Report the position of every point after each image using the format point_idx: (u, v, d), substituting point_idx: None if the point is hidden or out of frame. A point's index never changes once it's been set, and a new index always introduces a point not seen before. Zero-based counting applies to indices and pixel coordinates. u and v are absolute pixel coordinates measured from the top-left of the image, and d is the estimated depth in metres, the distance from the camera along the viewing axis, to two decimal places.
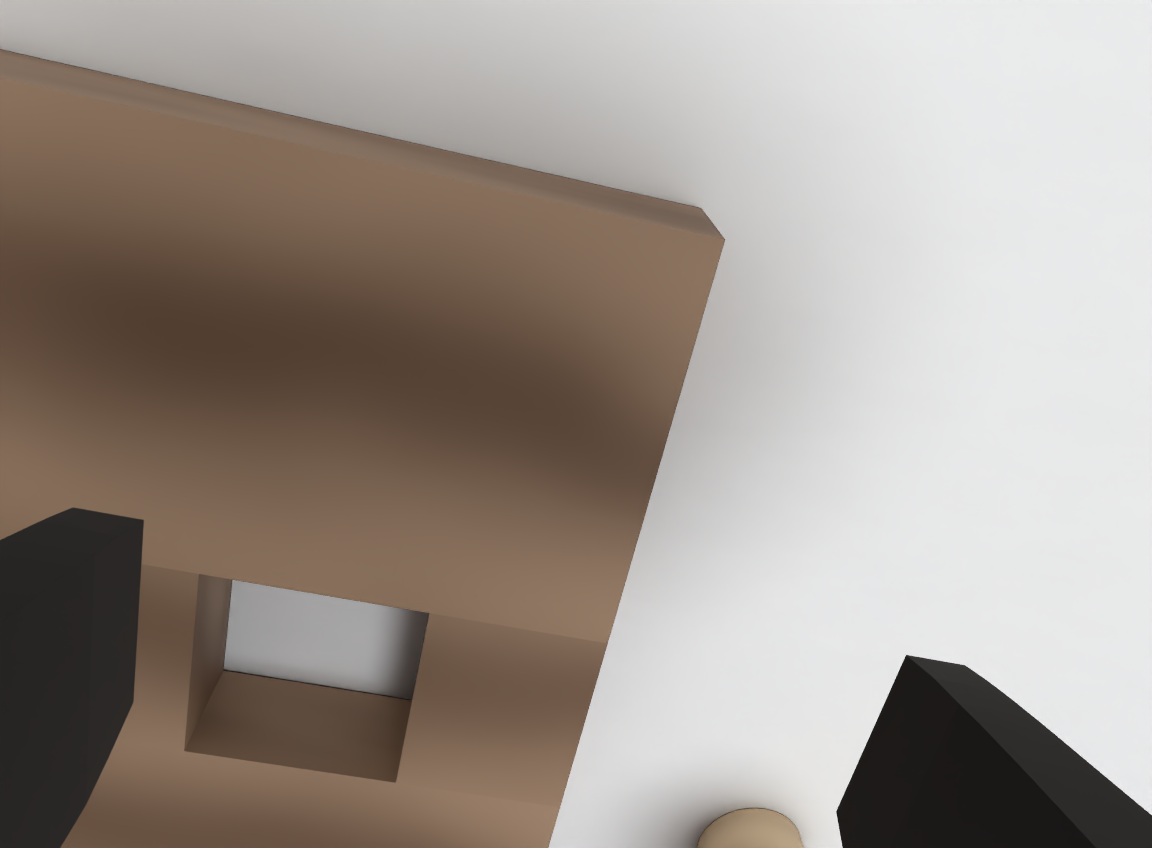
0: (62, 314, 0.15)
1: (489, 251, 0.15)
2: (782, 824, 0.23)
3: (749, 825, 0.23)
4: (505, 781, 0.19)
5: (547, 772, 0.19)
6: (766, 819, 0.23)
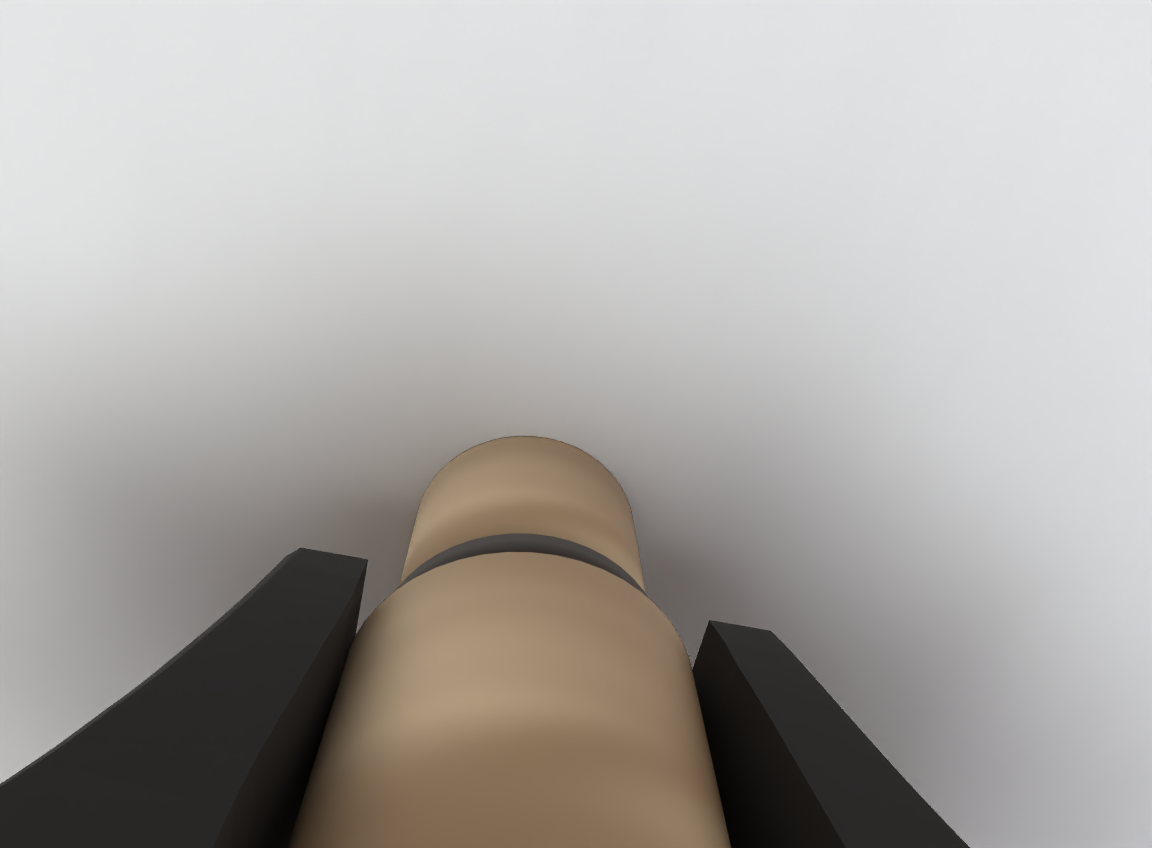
0: None
1: None
2: (423, 502, 0.11)
3: None
4: None
5: None
6: (414, 530, 0.11)
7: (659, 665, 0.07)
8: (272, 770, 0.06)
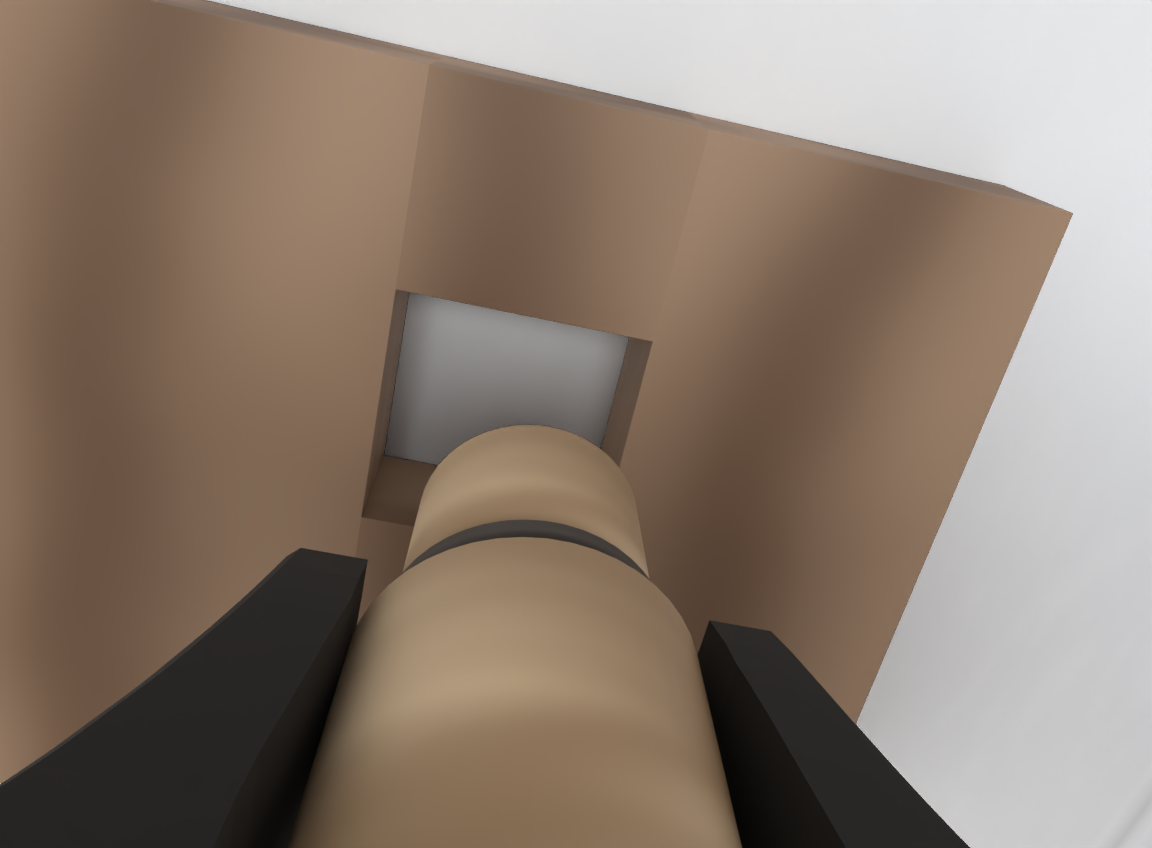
0: (96, 589, 0.17)
1: None
2: (430, 486, 0.11)
3: None
4: (658, 204, 0.15)
5: (644, 147, 0.14)
6: (418, 514, 0.11)
7: (672, 657, 0.07)
8: (272, 770, 0.06)
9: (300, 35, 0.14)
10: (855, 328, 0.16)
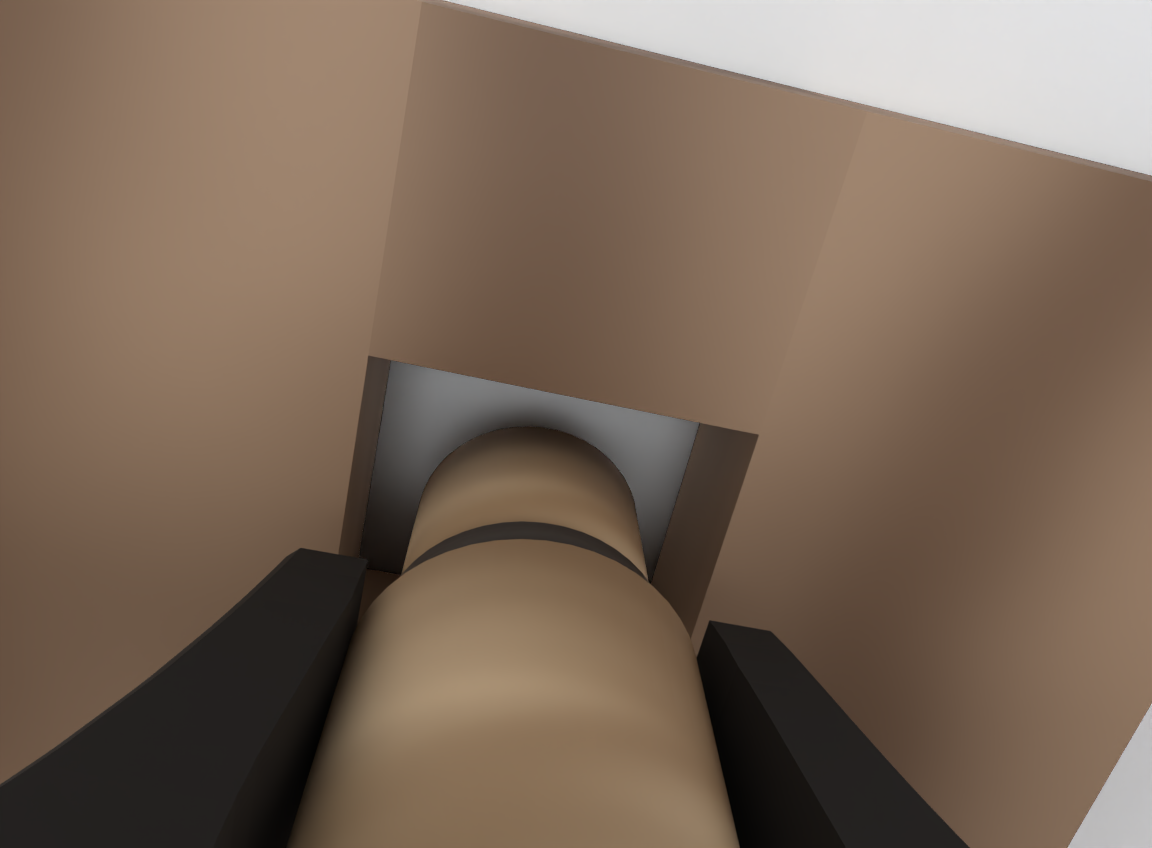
0: None
1: None
2: (428, 488, 0.11)
3: None
4: (779, 229, 0.09)
5: (763, 138, 0.09)
6: (417, 516, 0.11)
7: (671, 659, 0.07)
8: (271, 770, 0.06)
9: None
10: (1066, 416, 0.10)
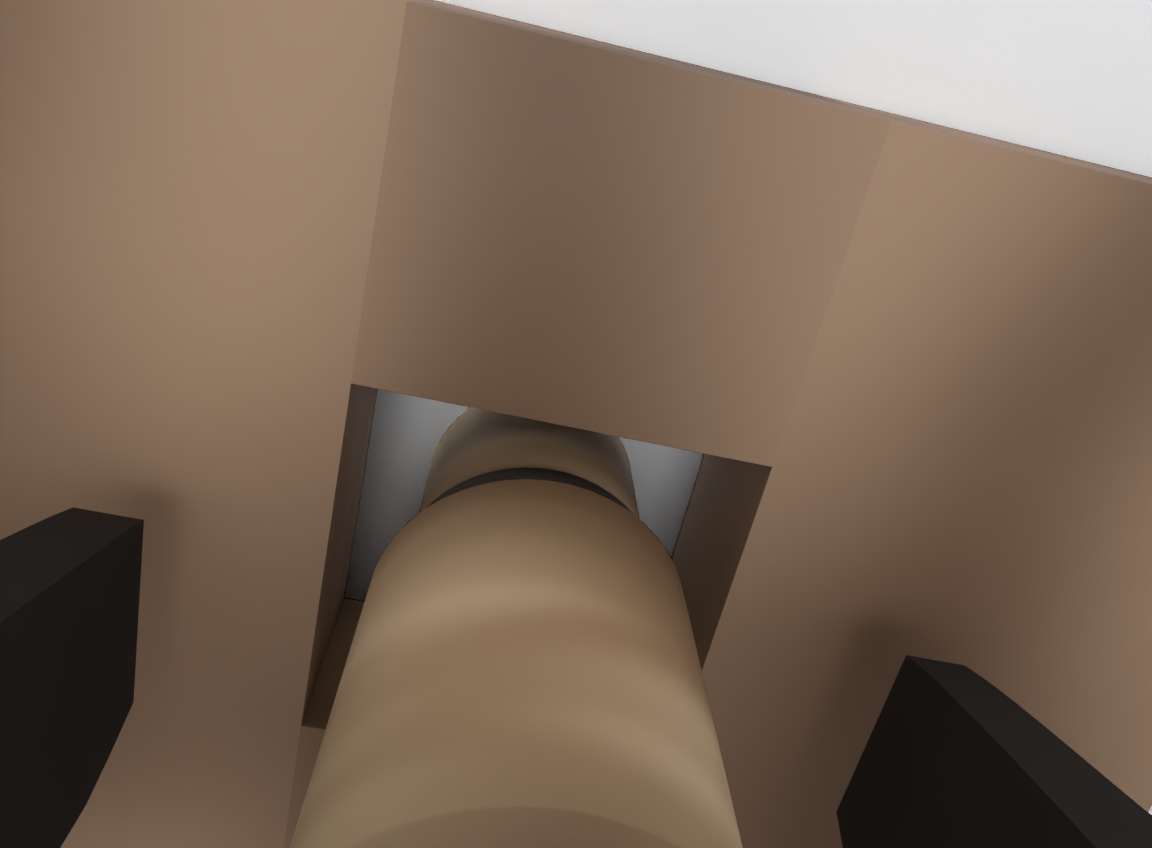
0: None
1: None
2: (441, 446, 0.12)
3: None
4: (795, 247, 0.09)
5: (778, 149, 0.08)
6: (430, 472, 0.12)
7: (658, 581, 0.08)
8: None
9: None
10: (1102, 446, 0.10)
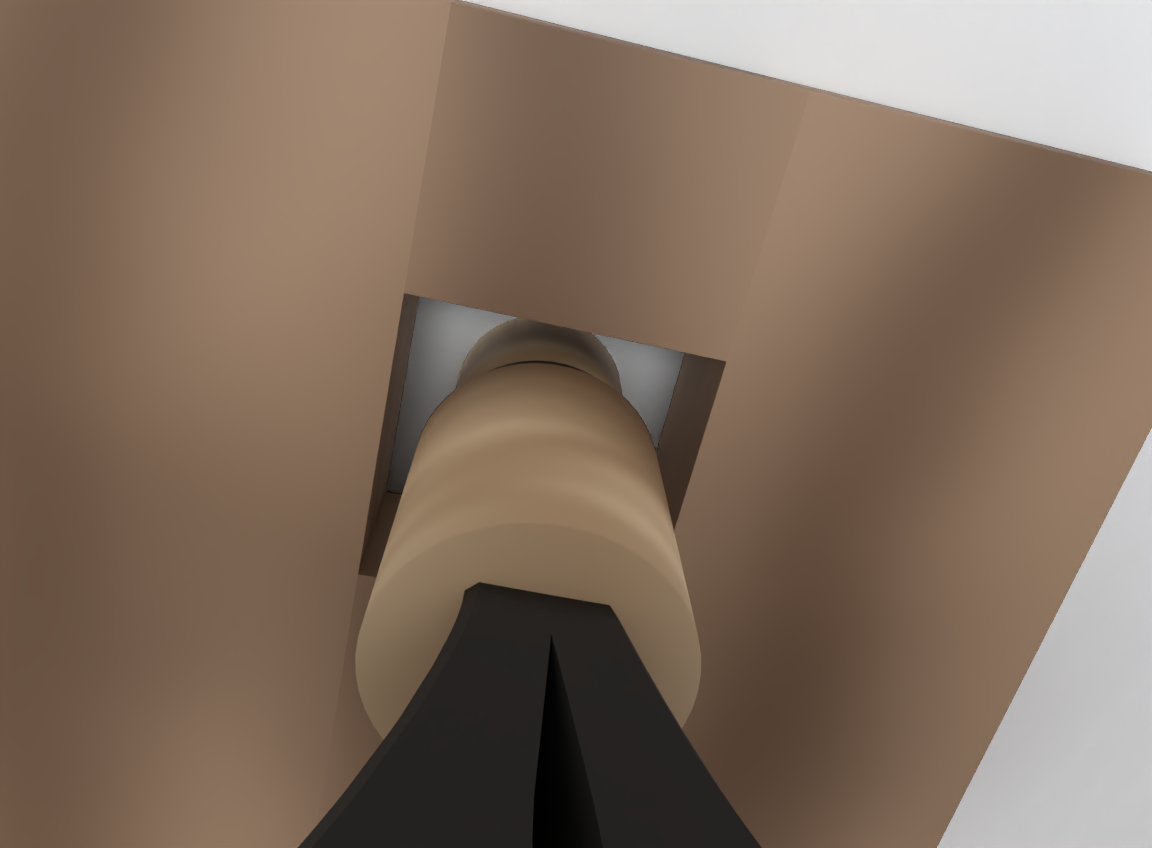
0: (31, 658, 0.14)
1: None
2: (467, 359, 0.15)
3: None
4: (740, 187, 0.11)
5: (726, 113, 0.11)
6: (458, 380, 0.15)
7: (634, 433, 0.11)
8: None
9: None
10: (981, 345, 0.12)
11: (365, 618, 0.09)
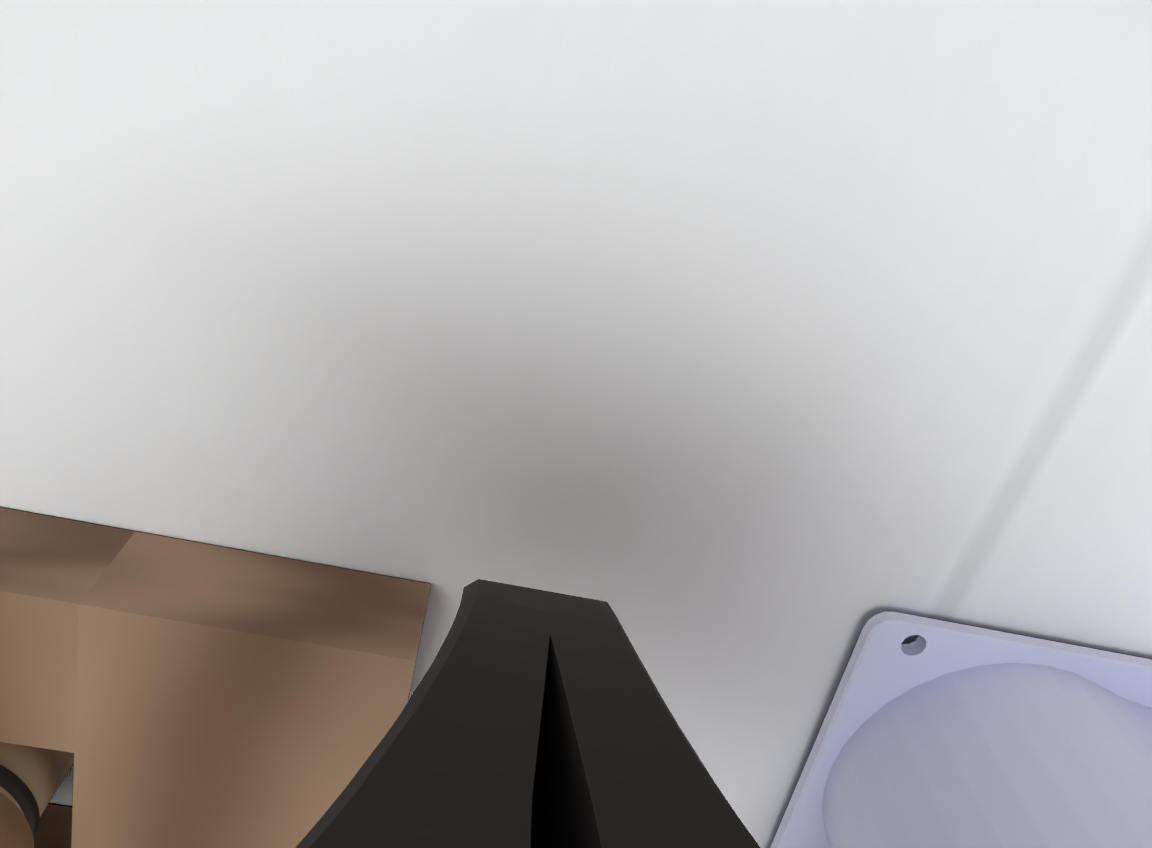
0: None
1: None
2: None
3: None
4: (49, 656, 0.17)
5: (26, 616, 0.17)
6: None
7: None
8: None
9: None
10: (250, 742, 0.18)
11: None
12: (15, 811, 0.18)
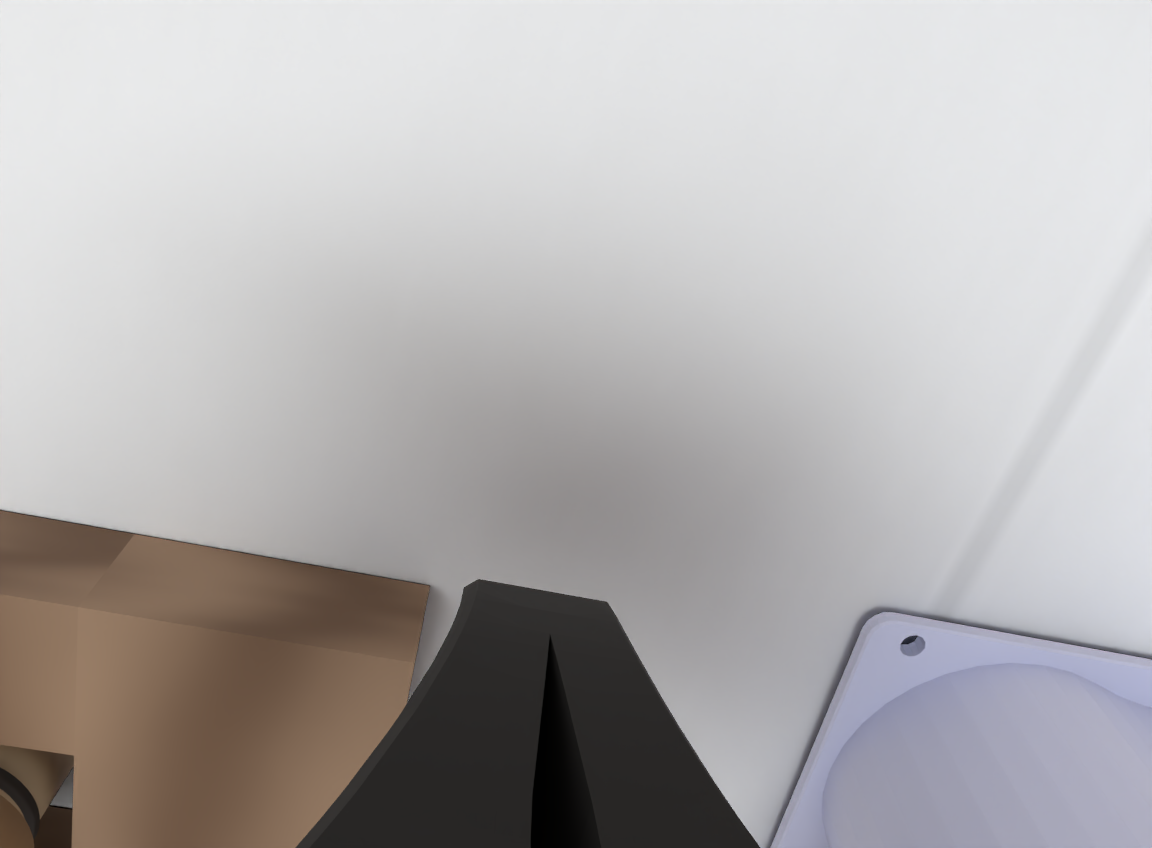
0: None
1: None
2: None
3: None
4: (49, 659, 0.17)
5: (25, 620, 0.17)
6: None
7: None
8: None
9: None
10: (250, 744, 0.18)
11: None
12: (15, 814, 0.18)
